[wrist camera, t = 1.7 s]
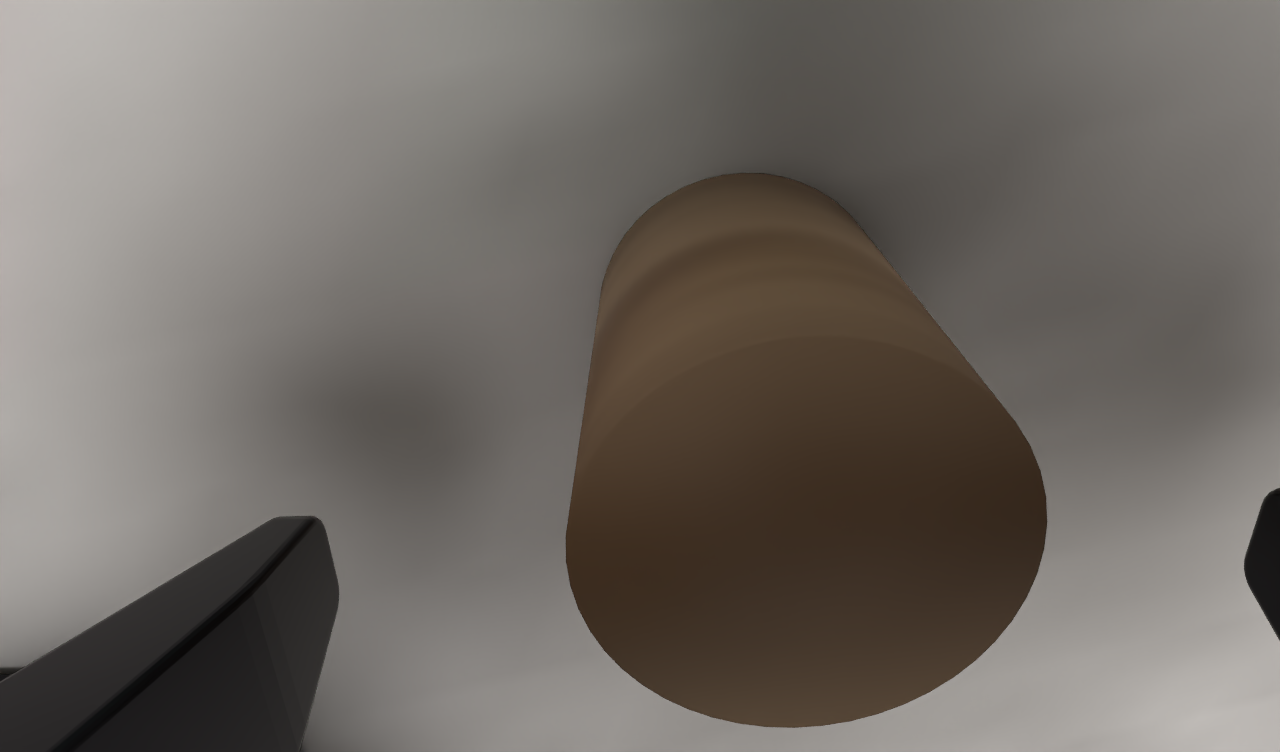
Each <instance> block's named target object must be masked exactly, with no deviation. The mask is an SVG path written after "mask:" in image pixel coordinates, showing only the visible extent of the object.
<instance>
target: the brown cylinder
mask: <svg viewBox="0 0 1280 752" xmlns="http://www.w3.org/2000/svg"><path fill="white" fill-rule="evenodd" d="M1046 528H1047V509H1046V495H1045V490H1044V485H1043V481H1042V476H1041V472H1040V469H1039V466H1038V464H1037V461H1036V459H1035V456H1034V454H1033V451H1032V449H1031V446H1030V445H1029V443H1028V441H1027V440H1026V438H1025V436H1024V435H1023V433H1022V432H1021V430H1020V428H1019V427H1018V425H1017V423H1016V422H1015V421H1014V419H1013V418H1012V417H1011V416H1010V414H1009V413H1008V412H1007V411H1006V409H1005V408H1004V407H1003V406H1002V404H1001V403H1000V402H999V401H998V399H997V398H996V397H995V395H994V394H993V393H992V392H991V390H990V389H989V388H988V387H987V385H986V384H985V383H984V382H983V380H982V379H981V378H980V377H979V375H978V374H977V373H976V372H975V370H974V369H973V368H972V367H971V365H970V364H969V363H968V362H967V360H966V359H965V358H964V357H963V355H962V354H961V353H960V352H959V350H958V349H957V348H956V346H955V345H954V344H953V343H952V341H951V340H950V339H949V338H948V336H947V335H946V334H945V333H944V331H943V330H942V329H941V328H940V326H939V325H938V324H937V323H936V321H935V320H934V319H933V318H932V316H931V315H930V314H929V313H928V311H927V310H926V309H925V308H924V306H923V305H922V304H921V302H920V301H919V300H918V299H917V297H916V296H915V295H914V294H913V292H912V291H911V290H910V289H909V287H908V286H907V285H906V284H905V282H904V281H903V280H902V279H901V277H900V276H899V275H898V274H897V272H896V271H895V270H894V269H893V267H892V266H891V265H890V264H889V262H888V261H887V260H886V259H885V257H884V256H883V255H882V253H881V252H880V251H879V250H878V248H877V247H876V246H875V245H874V243H873V242H872V241H871V240H870V238H869V237H868V236H867V235H866V233H865V232H864V231H863V230H862V228H861V227H860V226H859V225H858V224H857V222H856V221H855V220H854V219H853V218H852V217H851V215H850V214H849V213H848V212H847V211H846V210H844V209H843V208H842V207H841V206H840V205H839V204H837V203H836V202H835V201H834V200H832V199H831V198H829V197H828V196H826V195H825V194H823V193H822V192H820V191H818V190H816V189H814V188H812V187H810V186H808V185H805V184H803V183H801V182H798V181H795V180H791V179H788V178H785V177H781V176H775V175H769V174H761V173H738V174H728V175H721V176H717V177H712V178H708V179H704V180H701V181H698V182H696V183H693V184H690V185H688V186H685V187H683V188H681V189H679V190H677V191H675V192H674V193H672V194H670V195H668V196H666V197H665V198H663V199H662V200H661V201H659V202H658V203H656V204H655V205H654V206H652V207H651V208H650V209H649V210H648V211H647V212H645V213H644V214H643V215H642V216H641V217H640V218H639V219H638V220H637V221H636V222H635V223H634V224H633V226H632V227H631V228H630V229H629V231H628V232H627V233H626V234H625V235H624V237H623V239H622V240H621V242H620V243H619V245H618V247H617V248H616V250H615V252H614V254H613V256H612V258H611V260H610V263H609V265H608V267H607V270H606V274H605V277H604V280H603V284H602V289H601V296H600V303H599V310H598V317H597V324H596V331H595V337H594V344H593V351H592V358H591V365H590V372H589V379H588V386H587V393H586V400H585V407H584V414H583V420H582V427H581V434H580V441H579V448H578V455H577V462H576V469H575V476H574V483H573V490H572V496H571V503H570V510H569V517H568V524H567V531H566V563H567V569H568V575H569V580H570V586H571V589H572V592H573V595H574V597H575V600H576V603H577V606H578V609H579V611H580V613H581V615H582V617H583V619H584V620H585V622H586V624H587V626H588V628H589V630H590V632H591V633H592V634H593V636H594V637H595V638H596V640H597V641H598V642H599V644H600V645H601V647H602V648H603V649H604V651H605V652H606V653H607V654H608V655H609V656H610V657H611V658H612V659H613V660H614V661H615V662H616V663H617V664H618V665H619V666H620V667H621V668H622V669H623V670H624V671H625V672H627V673H628V674H629V675H631V676H632V677H633V678H634V679H636V680H637V681H638V682H639V683H641V684H642V685H643V686H645V687H647V688H648V689H650V690H652V691H653V692H655V693H657V694H658V695H660V696H661V697H663V698H665V699H667V700H669V701H672V702H674V703H676V704H678V705H680V706H682V707H684V708H687V709H689V710H692V711H695V712H698V713H701V714H704V715H707V716H710V717H713V718H717V719H722V720H726V721H731V722H735V723H740V724H748V725H756V726H764V727H792V728H795V727H810V726H823V725H830V724H836V723H842V722H848V721H853V720H856V719H860V718H864V717H868V716H872V715H876V714H879V713H882V712H884V711H887V710H890V709H893V708H895V707H898V706H901V705H903V704H906V703H908V702H910V701H912V700H914V699H916V698H918V697H920V696H922V695H924V694H927V693H929V692H930V691H932V690H934V689H935V688H937V687H939V686H940V685H942V684H943V683H945V682H947V681H948V680H950V679H952V678H953V677H955V676H956V675H957V674H959V673H960V672H961V671H962V670H964V669H965V668H966V667H968V666H969V665H970V664H972V663H973V662H974V661H975V660H976V659H977V658H979V657H980V656H981V655H982V654H983V653H984V652H985V651H986V650H987V649H988V648H989V647H990V646H991V645H992V644H993V643H994V642H995V641H996V640H997V639H998V637H999V636H1000V635H1001V634H1002V632H1003V631H1004V630H1005V629H1006V628H1007V626H1008V625H1009V624H1010V623H1011V621H1012V620H1013V618H1014V617H1015V615H1016V614H1017V612H1018V610H1019V609H1020V607H1021V606H1022V604H1023V602H1024V601H1025V599H1026V597H1027V595H1028V593H1029V591H1030V588H1031V586H1032V584H1033V582H1034V580H1035V577H1036V575H1037V572H1038V569H1039V565H1040V561H1041V558H1042V554H1043V551H1044V545H1045V537H1046Z"/></svg>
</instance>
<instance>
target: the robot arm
mask: <svg viewBox="0 0 1280 752" xmlns="http://www.w3.org/2000/svg"><path fill="white" fill-rule="evenodd" d="M1244 571H1245V577H1246V580H1247V583H1248V585H1249V587H1250V589H1251V591H1252V593H1253V595H1254V596H1255V598H1256V600H1257V602H1258V603H1259V605H1260V607H1261V609H1262V610H1263V612H1264V614H1265V616H1266V617H1267V619H1268V621H1269V623H1270V625H1271V626H1272V628H1273V630H1274V632H1275V633H1276V635H1277V637H1278V639H1279V640H1280V488H1277V489H1275V490H1273V491H1271V492H1270V493H1269V494H1268V495H1267V496H1266V497H1265V498H1264V501H1263V503H1262V506H1261V509H1260V512H1259V515H1258V518H1257V521H1256V524H1255V527H1254V530H1253V533H1252V537H1251V540H1250V543H1249V546H1248V549H1247V552H1246V555H1245V560H1244ZM338 604H339V585H338V580H337V575H336V571H335V567H334V563H333V558H332V554H331V550H330V546H329V542H328V537H327V533H326V530H325V527H324V525H323V523H322V521H321V520H320V519H318V518H317V517H315V516H286V517H276V518H273V519H271V520H270V521H268V522H266V523H265V524H263V525H261V526H260V527H258V528H256V529H255V530H253V531H251V532H250V533H248V534H246V535H245V536H243V537H241V538H240V539H238V540H236V541H235V542H233V543H231V544H230V545H228V546H226V547H225V548H223V549H221V550H220V551H218V552H216V553H215V554H213V555H211V556H209V557H208V558H206V559H204V560H203V561H201V562H199V563H198V564H196V565H194V566H193V567H191V568H189V569H188V570H186V571H184V572H183V573H181V574H179V575H178V576H176V577H174V578H173V579H171V580H169V581H168V582H166V583H164V584H163V585H161V586H159V587H158V588H156V589H154V590H153V591H151V592H149V593H148V594H146V595H144V596H143V597H141V598H139V599H138V600H136V601H134V602H133V603H131V604H129V605H128V606H126V607H124V608H123V609H121V610H119V611H118V612H116V613H114V614H112V615H111V616H109V617H107V618H106V619H104V620H102V621H101V622H99V623H97V624H96V625H94V626H92V627H91V628H89V629H87V630H86V631H84V632H82V633H81V634H79V635H77V636H76V637H74V638H72V639H71V640H69V641H67V642H66V643H64V644H62V645H61V646H59V647H57V648H56V649H54V650H52V651H51V652H49V653H47V654H46V655H44V656H42V657H41V658H39V659H37V660H36V661H34V662H32V663H31V664H29V665H27V666H26V667H24V668H22V669H21V670H19V671H17V672H16V673H14V674H8V675H0V752H299V751H300V747H301V744H302V740H303V737H304V734H305V730H306V727H307V723H308V719H309V715H310V712H311V708H312V704H313V700H314V697H315V693H316V689H317V685H318V681H319V678H320V674H321V670H322V666H323V663H324V659H325V655H326V651H327V648H328V644H329V640H330V636H331V632H332V629H333V625H334V621H335V617H336V614H337V609H338Z"/></svg>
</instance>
